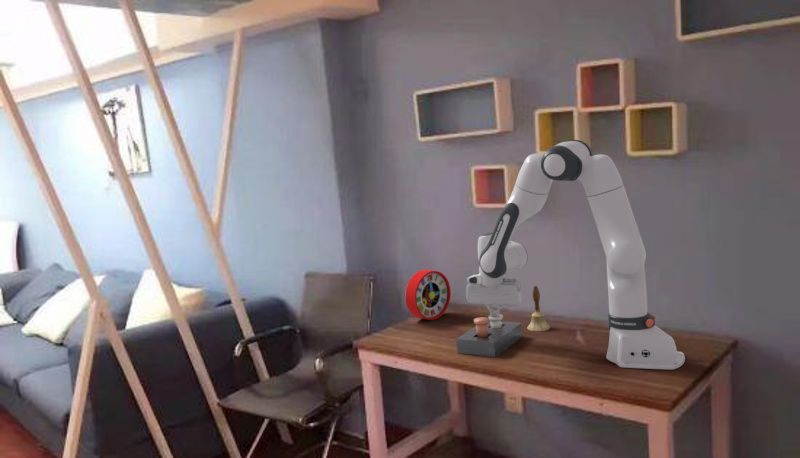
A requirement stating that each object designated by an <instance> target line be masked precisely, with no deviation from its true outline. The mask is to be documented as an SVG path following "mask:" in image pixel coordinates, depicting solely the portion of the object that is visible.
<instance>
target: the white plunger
mask: <svg viewBox="0 0 800 458" xmlns="http://www.w3.org/2000/svg"><path fill="white" fill-rule="evenodd" d="M487 318H489V320H490V323H491V328H499V329H500V328H502V321H503V319H504V315H503V314H501V313H500V316H498V317H496V316H490V314H489V315H488V317H487Z"/></svg>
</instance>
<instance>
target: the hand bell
mask: <svg viewBox="0 0 800 458" xmlns="http://www.w3.org/2000/svg"><path fill="white" fill-rule="evenodd" d="M532 299H533V302H534V312H533V313H532V314H531V321H530V323H529V324H528V326H527V330H528V331H530V332H534V333H535V332H538V333H539V332H546V331H549V330H550V329H551V326H550V325H549V324H548V323H547V321H546V318H545V313H543V312H541V309H540V299H541V294H540V290H539V288H538V286H537V285H534V286H533V289H532Z"/></svg>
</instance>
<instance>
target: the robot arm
mask: <svg viewBox="0 0 800 458" xmlns="http://www.w3.org/2000/svg"><path fill="white" fill-rule="evenodd" d="M576 180H578V181H580V182H581V184H582V187H583V188H584V191H585V195H586V198H587V201H588V203H589V206H590V210H591V213H592V216H593V219H594V222H595V225H596V229H597V232H598V234H599V238H600V239H599V240H600V242H601V245H602V248H603V252H604V255H605V257H606V259H605V261H606V277H607V278H606V279H607V291H608V292H607V293H608V310H609V312H608V313H607V326H608V327H607V328H608V331H609V338H608V339H609V340H608V346H607V353H606V356H605V357H606V359H607V360H608V361H609V362H612V363H614V364H616V365H617V366H618V367H619V368H625V369H627V368H628V369H647V370H649V369H650V370H669V371H670V370H672V371H673V370H676V369H679V368H680V367H682V366H683V365H684V363H685V362H686V357H685V353H683V352H682V351H678V350H677V346H676V342H675V340H674V338H673V336H671V335H670V334H668V333H667V332H665V331H664V330H662V329H661V328H659V327H658V326H657V325H656V314H655V313H654V314H653V315H652V314H651V313H650V312H649V311H648V298H647V297H648V296H647V295H648V292H647V282H646V281H647V280H646V270H645V269H646V267H645V262H646V260H647V259H646V258H647V252H646V248H645V246H644V245H645V244H644V242H643V239H642V236H641V233H640V231H639V227H638V224H637V221H636V219H635V215H634V213H633V210H632V206H631V203H630V199H629V198H628V197H629V196H628V195H627V191H626V187H625V185H624V182H623V179H622V177H621V174H620V172H619V170H618V168H617V166H616V163H615V162H614V161H613V160H612V158H611V157H610V156H609V155H606V154H603V153H602V154H595V155H593V151H592V148H591V147H590V146H589V144H588V143H587V142H584V141H583V140H580V139H571V140H569V141H562V142H559V143H557V144H555V145H553V146H550V147H549V148H547V150H546V151H545V152H544V153H531V154H530V155H529V154H528V156H527V157H526V158H525V159H524V161H523V163H522V165H521V168H520V169H519V171H518V175H517V177H516V181H515V183H514V187H513V189H512V191H511V195H510V196H509V199H508V201H507V202H506V204H505V205H504V207H503V209H502V210H501V212H500V215H499V216H498V219H497V221H496V223H495V226H494V228H493V230H492V232H487V233H484V234H480V235H479V237H478V239H477V258H478V262H479V267H478V272H477V273H475V274H472V275H470V276H468V277H467V278H466V283H467V285H466V287H465V289H466V290H465V297H466V301H467V302H468V303H469V304H470V303H471V304H484V305H486V308H487V309H488V311H489V315H490V316H496V317H498V316H500V314H501V312H500V311H501V309H502V307H503V306H512V307H513V306H514V307H518V306H519V305H521V304H522V303H523V297H522V296H523V295H522V291H521V282H520V281H519V280H517V279H516V278H506V274H509V273H512V272H515V271H519V270H520V269H523V268H524V267H525V266H526V265H527V263H528V259H529V257H528V252H527V250H526V247H525V246H524V245H523V244H522V243H520V242H517V241H513V240H512V237H513V235H514V233H515V231H516V229H517V228H519V227H518V226H520V225H521V224H522V223H523V222H525V221H526V220H527V219H529V218H530V217H533V216H535V215H536V214H537V213H538V212H541V210H542V209H543V207H544V205H545V204H546V201H547V200H548V196H549V193H550V190H551V187H552V184H553V182H554V181H557V182H560V181H562V182H575V181H576ZM494 305H495V307H496V310H494V308H493V307H492V306H494Z"/></svg>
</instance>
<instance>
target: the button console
mask: <svg viewBox="0 0 800 458" xmlns="http://www.w3.org/2000/svg"><path fill="white" fill-rule="evenodd" d="M488 333H489V336H488V337H485V338H479V337H477V332H476V326H474V327H472V328H471V329H470V330H468V331H466V332H465V333H463V334H462V335H460V336H459V337H457V338H456V339H455V341H456V342H455V343H456V350H457V351H456V353H457V354H462V355H463V354H464V355H472V356H480V357H481V356H482V357H489V358H496V357H497V356H499V355H500V354H501V353H503V352H504V351H506V349H508V348H510V346H512V345H514V343H516V342H517V341H518V340H520V339H522V337H523V327H522V322H518V321H506V320H502V328H500V329H499V328H491V323H490V320H489V323H488Z"/></svg>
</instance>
